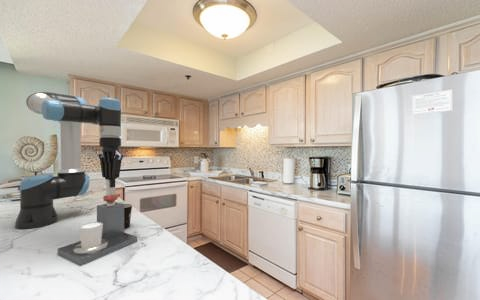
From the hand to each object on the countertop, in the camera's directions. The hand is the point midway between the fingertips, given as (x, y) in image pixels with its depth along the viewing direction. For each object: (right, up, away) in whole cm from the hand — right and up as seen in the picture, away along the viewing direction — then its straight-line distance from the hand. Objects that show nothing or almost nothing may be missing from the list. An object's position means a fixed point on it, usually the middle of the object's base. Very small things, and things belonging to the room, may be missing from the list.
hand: (110, 195), depth 88 cm
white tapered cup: (0, -15, -12) cm, 19 cm away
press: (0, -18, -7) cm, 19 cm away
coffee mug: (-2, -18, +15) cm, 23 cm away
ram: (0, -12, 0) cm, 12 cm away
